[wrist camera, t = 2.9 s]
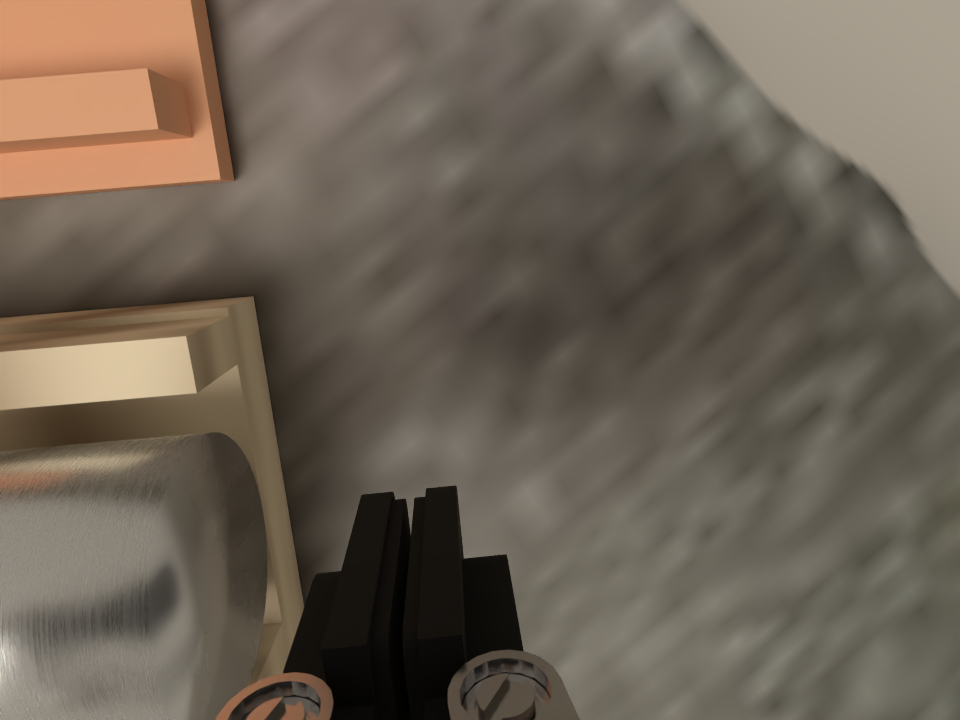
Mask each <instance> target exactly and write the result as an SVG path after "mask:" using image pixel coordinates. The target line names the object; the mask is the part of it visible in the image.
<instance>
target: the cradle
mask: <svg viewBox="0 0 960 720" xmlns="http://www.w3.org/2000/svg"><path fill="white" fill-rule="evenodd" d="M229 181H234V175H233V168H232V162H231V156H230V150H229V144H228V138H227V132H226V126H225V119H224V113H223V107H222V101H221V95H220V89H219V83H218V77H217V71H216V64H215V58H214V52H213V46H212V40H211V34H210V28H209V22H208V16H207V9H206V3H205V0H0V200H10V199H23V198H35V197H47V196H59V195H71V194H83V193H95V192H107V191H120V190H132V189H144V188H156V187H168V186H180V185H192V184H204V183H217V182H229Z"/></svg>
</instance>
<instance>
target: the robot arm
mask: <svg viewBox="0 0 960 720" xmlns="http://www.w3.org/2000/svg"><path fill="white" fill-rule="evenodd" d="M215 720H580V719H579V717H578V715H577V712H576V710H575V708H574V706H573V703H572V701H571V699H570V697H569V695H568V692H567V690H566V688H565V686H564V684H563V681H562V679H561V677H560V676H559V674H558V673H557V672H556V670H555V669H554V667H553V666H552V665H550V664H549V663H548V662H546V661H545V660H544V659H542V658H541V657H539V656H536V655H533V654H531V653H528V652H525V651H523V646H522V640H521V634H520V628H519V622H518V617H517V611H516V605H515V599H514V593H513V588H512V582H511V576H510V570H509V565H508V559H507V555H506V554H505V555H495V556H486V557H476V558H466V559H464V556H463V546H462V536H461V526H460V515H459V505H458V495H457V487H456V486H447V487H437V488H427V489H426V497H418V498H415V499H414V510H413V520H412V531H411V534H410V526H409V517H408V509H407V503H406V499H398V500H395V496H394V493H393V492H386V493H375V494H365V495H362V496H361V499H360V502H359V506H358V510H357V514H356V517H355V521H354V525H353V529H352V533H351V536H350V540H349V544H348V548H347V551H346V555H345V559H344V563H343V567H342V570H341V571H338V572H328V573H318V574H317V575H316V576H315V578H314V580H313V582H312V585H311V588H310V592H309V595H308V598H307V601H306V604H305V607H304V610H303V613H302V616H301V619H300V622H299V625H298V628H297V631H296V634H295V637H294V640H293V643H292V646H291V649H290V652H289V655H288V658H287V661H286V664H285V667H284V670H283V673H282V674H277V675H274V676H271V677H268V678H265V679H261V680H259V681H257V682H256V683H254V684H252V685H250V686H248V687H246V688H244V689H243V690H242V691H240V692H239V693H238V694H237V695H236V696H234V697H233V698H232V699H231V700H229V701H228V703H227V704H226V705H225V706H224V708H223V709H222V710H221V711H220V713H219V714H218V715H217V717H216V719H215Z"/></svg>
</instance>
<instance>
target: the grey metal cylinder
mask: <svg viewBox="0 0 960 720" xmlns="http://www.w3.org/2000/svg"><path fill="white" fill-rule="evenodd" d="M266 593H267V542H266V530H265V522H264V514H263V509H262V503H261V498H260V494H259V490H258V486H257V483H256V480H255V477H254V474H253V471H252V469H251V466H250V464H249V462H248V460H247V458H246V456H245V454H244V453H243V451H242V450H241V448H240V447H239V446H238V444H237V443H236V442H235V441H234V440H233V439H231V438H230V437H229V436H227V435H225V434H222V433H218V432H210V433H198V434H187V435H175V436H164V437H153V438H141V439H130V440H118V441H107V442H95V443H84V444H73V445H61V446H50V447H38V448H27V449H16V450H4V451H0V720H215V719H216V717H217V715H218V714H219V713H220V711H221V710H222V709H223V708H224V706H225V705H226V704H227V703H228V701H229V700H231V699H232V698H233V697H234V696H236V695H237V694H238V693H239V692H240V691H242V690H243V689H244V688H246V687H247V686H248V683H249V680H250V677H251V675H252V672H253V668H254V665H255V661H256V657H257V654H258V649H259V644H260V640H261V634H262V628H263V622H264V614H265V605H266Z"/></svg>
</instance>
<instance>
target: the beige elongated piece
mask: <svg viewBox="0 0 960 720" xmlns="http://www.w3.org/2000/svg"><path fill="white" fill-rule="evenodd" d="M210 432H218V433H222V434H225V435H227V436H229V437H230V438H231V439H233V440H234V441H235V442H236V443H237V444H238V446H239V447H240V448H241V450H242V451H243V453H244V454H245V456H246V458H247V460H248V462H249V464H250V466H251V469H252V471H253V474H254V477H255V480H256V483H257V486H258V490H259V494H260V498H261V503H262V509H263V514H264V522H265V530H266V542H267V593H266V605H265V614H264V622H263V628H262V634H261V640H260V644H259V649H258V654H257V657H256V661H255V665H254V668H253V672H252V675H251V677H250V680H249V683H248V686H250V685H252V684H254V683H256V682H257V681H259V680H261V679H265V678H268V677H271V676H274V675H277V674H282V673H283V670H284V667H285V664H286V661H287V658H288V655H289V652H290V649H291V646H292V643H293V640H294V637H295V634H296V631H297V628H298V625H299V622H300V619H301V616H302V613H303V610H304V603H303V597H302V590H301V584H300V578H299V572H298V566H297V560H296V554H295V548H294V542H293V535H292V529H291V523H290V517H289V511H288V505H287V499H286V493H285V486H284V480H283V474H282V468H281V462H280V456H279V450H278V444H277V438H276V431H275V425H274V419H273V413H272V407H271V401H270V395H269V389H268V383H267V376H266V370H265V364H264V358H263V352H262V346H261V340H260V334H259V327H258V321H257V315H256V309H255V303H254V297H253V296H252V297H240V298H228V299H216V300H205V301H193V302H181V303H169V304H157V305H146V306H134V307H122V308H110V309H98V310H87V311H75V312H63V313H51V314H39V315H28V316H16V317H4V318H0V451H4V450H16V449H27V448H38V447H50V446H61V445H73V444H84V443H95V442H107V441H118V440H130V439H141V438H153V437H164V436H175V435H187V434H198V433H210ZM248 686H247V687H248Z"/></svg>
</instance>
